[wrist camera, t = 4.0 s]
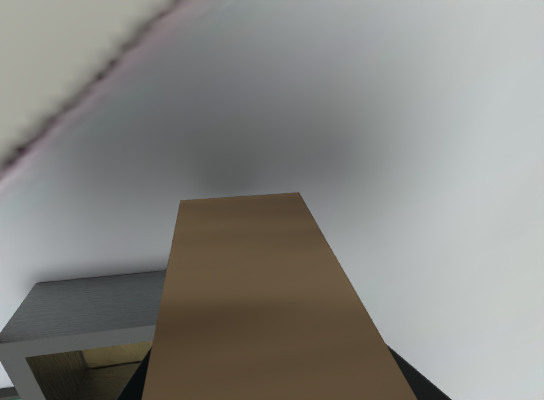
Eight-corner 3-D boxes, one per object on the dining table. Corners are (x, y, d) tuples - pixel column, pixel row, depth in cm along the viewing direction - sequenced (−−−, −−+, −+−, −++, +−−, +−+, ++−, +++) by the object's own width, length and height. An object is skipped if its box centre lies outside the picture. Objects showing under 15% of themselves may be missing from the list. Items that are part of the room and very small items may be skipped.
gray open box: (200, 361, 22) (197, 421, 19) (75, 378, 21) (47, 447, 17) (187, 268, 19) (181, 321, 15) (36, 283, 17) (-9, 345, 14)
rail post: (294, 282, 13) (472, 804, 4) (193, 293, 12) (146, 933, 4) (298, 192, 11) (632, 774, 2) (180, 200, 11) (18, 1030, 2)
